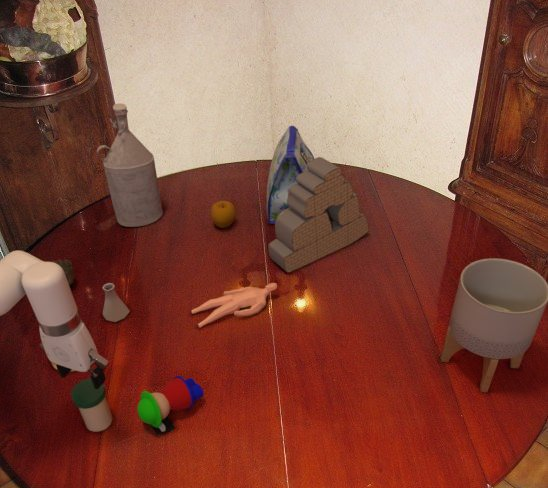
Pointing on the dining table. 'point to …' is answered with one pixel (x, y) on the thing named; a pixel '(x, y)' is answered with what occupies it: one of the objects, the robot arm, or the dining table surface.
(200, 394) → the toy figure
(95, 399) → the jar lid
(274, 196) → the lunch bag
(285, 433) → the dining table surface
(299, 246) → the ruin
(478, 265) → the planter
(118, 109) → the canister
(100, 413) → the beige cylinder
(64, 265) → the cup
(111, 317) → the flask
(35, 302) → the robot arm
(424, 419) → the dining table surface
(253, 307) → the male figurine
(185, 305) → the dining table surface
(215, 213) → the apple
